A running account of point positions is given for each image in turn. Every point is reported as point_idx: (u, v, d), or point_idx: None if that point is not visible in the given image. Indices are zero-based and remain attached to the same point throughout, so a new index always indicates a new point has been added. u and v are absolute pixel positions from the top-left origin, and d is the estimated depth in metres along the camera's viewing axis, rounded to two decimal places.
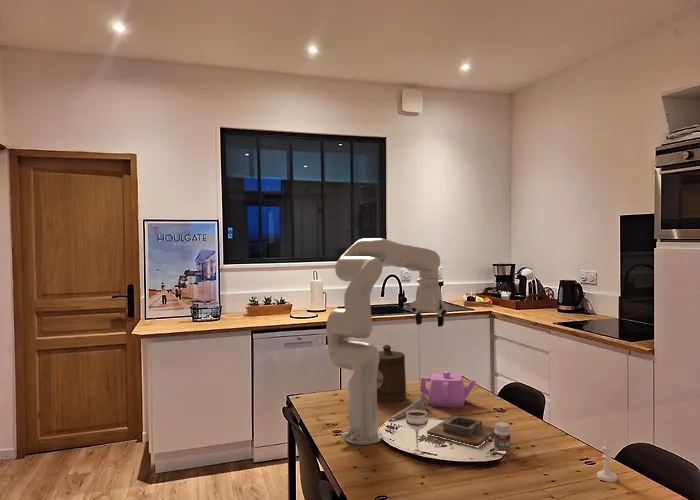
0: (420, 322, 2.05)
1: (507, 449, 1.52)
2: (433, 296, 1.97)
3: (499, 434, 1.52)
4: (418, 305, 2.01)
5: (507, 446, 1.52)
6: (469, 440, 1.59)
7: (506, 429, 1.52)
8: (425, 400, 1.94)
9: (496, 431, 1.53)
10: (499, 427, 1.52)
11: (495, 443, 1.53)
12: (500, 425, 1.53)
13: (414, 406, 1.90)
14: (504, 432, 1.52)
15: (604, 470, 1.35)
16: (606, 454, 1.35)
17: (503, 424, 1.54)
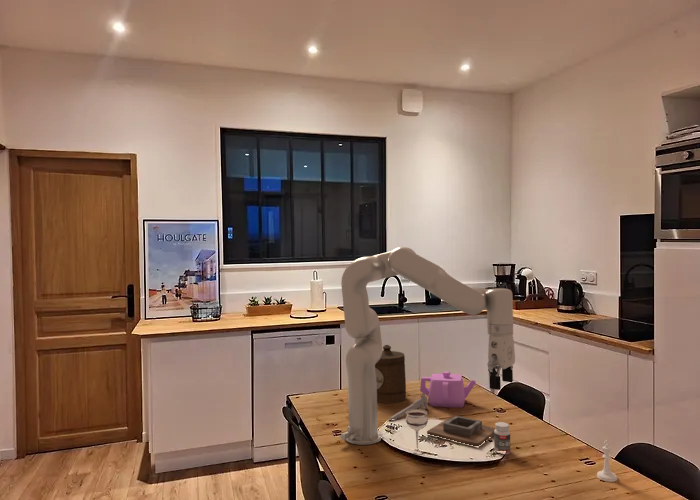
0: None
1: (507, 449, 1.52)
2: (513, 345, 1.55)
3: (499, 434, 1.52)
4: (505, 361, 1.49)
5: (507, 446, 1.52)
6: (469, 440, 1.59)
7: (506, 429, 1.52)
8: (425, 400, 1.94)
9: (496, 431, 1.53)
10: (499, 427, 1.52)
11: (495, 443, 1.53)
12: (500, 425, 1.53)
13: (414, 406, 1.90)
14: (504, 432, 1.52)
15: (604, 470, 1.35)
16: (606, 454, 1.35)
17: (503, 424, 1.54)
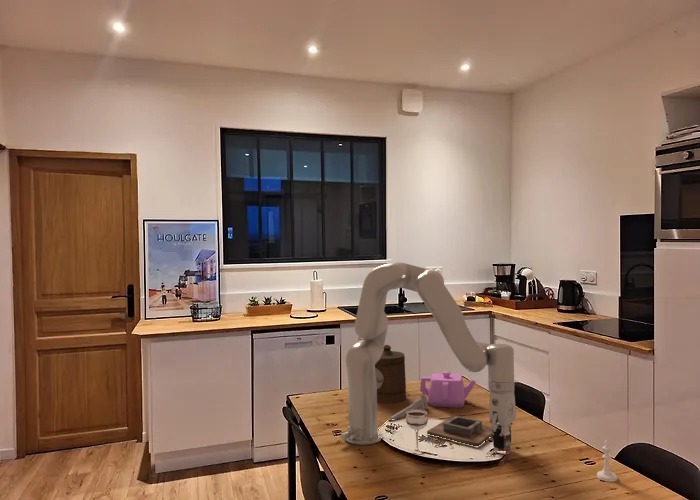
0: None
1: (507, 449, 1.52)
2: (514, 400, 1.55)
3: None
4: (506, 419, 1.49)
5: (507, 446, 1.52)
6: (469, 440, 1.59)
7: (506, 429, 1.52)
8: (425, 400, 1.94)
9: None
10: (499, 427, 1.52)
11: None
12: None
13: (414, 406, 1.90)
14: (504, 432, 1.52)
15: (604, 470, 1.35)
16: (606, 454, 1.35)
17: None
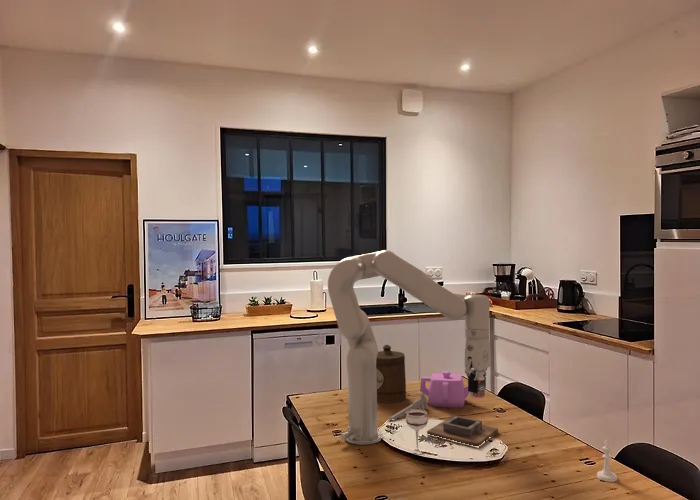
0: None
1: (481, 393, 1.60)
2: (489, 349, 1.63)
3: None
4: (480, 364, 1.57)
5: (481, 390, 1.60)
6: (469, 440, 1.59)
7: (481, 374, 1.60)
8: (425, 400, 1.94)
9: None
10: (474, 372, 1.60)
11: None
12: None
13: (414, 406, 1.90)
14: (479, 377, 1.60)
15: (604, 470, 1.35)
16: (606, 454, 1.35)
17: None
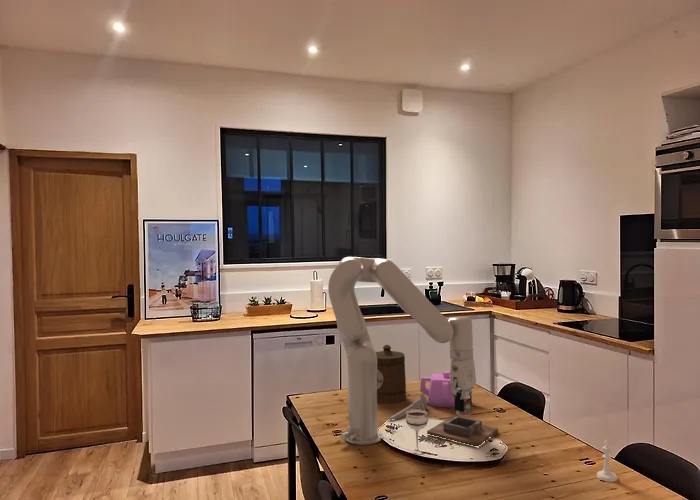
0: None
1: (467, 411, 1.66)
2: (473, 368, 1.69)
3: None
4: (465, 384, 1.64)
5: (467, 409, 1.66)
6: (469, 440, 1.59)
7: (466, 393, 1.67)
8: (425, 400, 1.94)
9: None
10: None
11: None
12: None
13: (414, 406, 1.90)
14: (464, 396, 1.66)
15: (604, 470, 1.35)
16: (606, 454, 1.35)
17: None
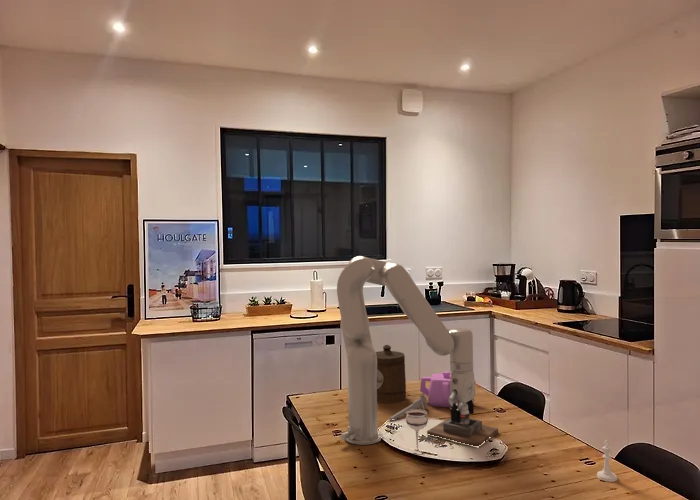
0: None
1: None
2: (473, 380, 1.69)
3: None
4: (465, 396, 1.64)
5: (466, 424, 1.66)
6: (469, 440, 1.59)
7: (465, 409, 1.67)
8: (424, 400, 1.94)
9: None
10: None
11: (455, 422, 1.68)
12: (460, 405, 1.67)
13: (414, 406, 1.90)
14: (463, 412, 1.66)
15: (604, 470, 1.35)
16: (606, 454, 1.35)
17: (463, 404, 1.68)
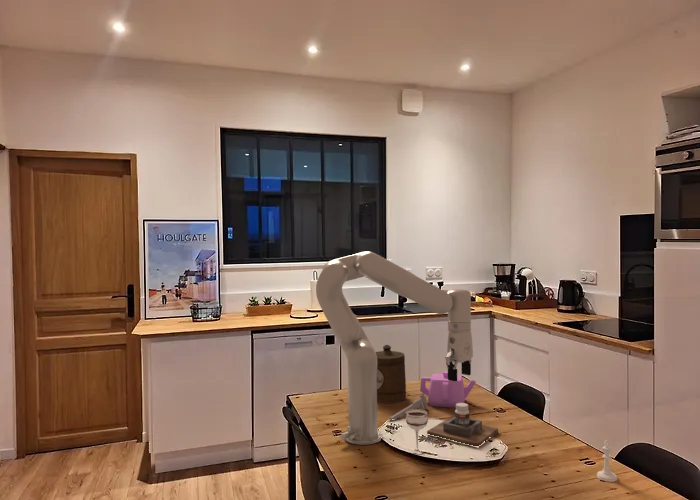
0: None
1: None
2: (471, 341, 1.70)
3: (459, 413, 1.67)
4: (462, 355, 1.65)
5: (466, 424, 1.66)
6: (469, 440, 1.59)
7: (465, 409, 1.67)
8: (424, 400, 1.94)
9: (457, 410, 1.68)
10: (459, 407, 1.67)
11: (455, 421, 1.68)
12: (460, 405, 1.68)
13: (413, 406, 1.90)
14: (463, 412, 1.66)
15: (604, 470, 1.35)
16: (606, 454, 1.35)
17: (463, 404, 1.68)
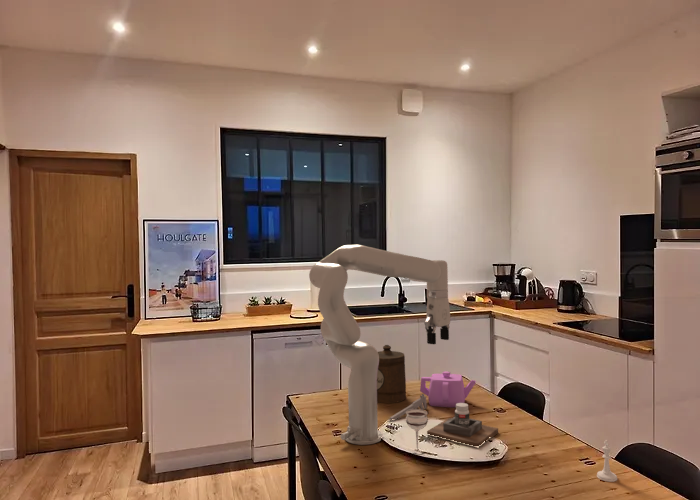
0: None
1: None
2: (448, 308, 1.83)
3: (459, 413, 1.67)
4: (440, 320, 1.78)
5: (466, 424, 1.66)
6: (469, 440, 1.59)
7: (465, 409, 1.67)
8: (424, 400, 1.94)
9: (457, 410, 1.68)
10: (459, 407, 1.67)
11: (455, 422, 1.68)
12: (460, 405, 1.67)
13: (413, 406, 1.90)
14: (463, 412, 1.66)
15: (604, 470, 1.35)
16: (606, 454, 1.35)
17: (463, 404, 1.68)
